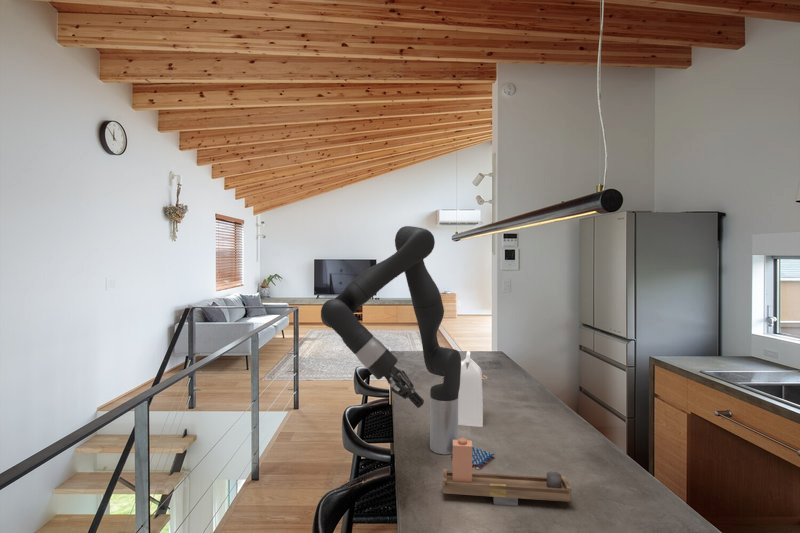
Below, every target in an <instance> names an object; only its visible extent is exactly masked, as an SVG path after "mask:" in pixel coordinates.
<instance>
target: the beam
mask: <svg viewBox="0 0 800 533" xmlns="http://www.w3.org/2000/svg"><path fill="white" fill-rule="evenodd" d="M452 475H453V470H452V471H451V470H448V469H447V468H443V469H442V493H443V494H446V495H447V494H448V495H449V494H450V495H461V496H462V495H466V496H479V497H492V501H493V505H500V506H514V507H519V499H523V500H524V499H525V500H538V501H539V500H540V501H541V500H542V501H552V502H553V501H554V502H555V501H556V502H568V503H571V502H572V487H571V485H570V483H569V481H568V480H567V478H566V476H565V475H562V474H560V473H559V472H557V471H547V473H546V476H536V475H535V476H534V475H532V476H531V475H520V474H519V475H517V474H515V475H514V474H499V473H485V472H472V483H468V482H453V477H452Z"/></svg>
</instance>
